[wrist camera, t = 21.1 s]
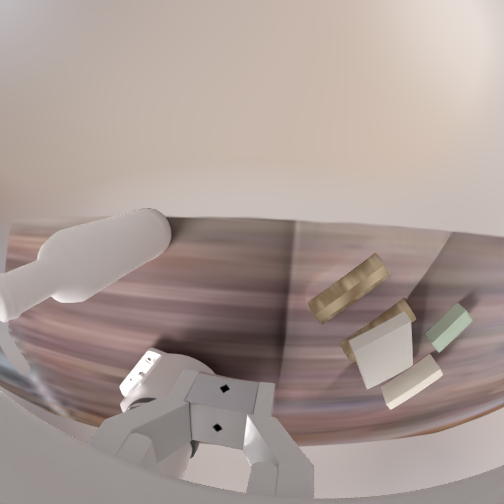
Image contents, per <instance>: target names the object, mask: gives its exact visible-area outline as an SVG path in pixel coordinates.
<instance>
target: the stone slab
mask: <svg viewBox="0 0 504 504" xmlns="http://www.w3.org/2000/svg"><path fill="white" fill-rule="evenodd" d="M349 343H350V346H351V348H352V351H353V354H354V356H355V359H356V362H357V364H358V367H359V370H360V373H361V375H362V378H363V381H364V383H365V385H366V388H367V389H369V388H372V387H374V386H376V385H378V384H380V383H382V382H384V381H385V380H387V379H389V378H391V377H393V376H395V375H397V374H399V373H401V372H402V371H404V370H406V369H408V368H410V367H411V366H413V350H412V329H411V320H410V319H409V317H408V316H407V314H406V313H405V311H404V312H402V313H400V314H398V315H397V316H395V317H393V318H391V319H389V320H388V321H386V322H384V323H382V324H380V325H378V326H376V327H375V328H373V329H371V330H369V331H367V332H365V333H363V334H361V335H359V336H357V337H355V338H353V339H351V340H349Z"/></svg>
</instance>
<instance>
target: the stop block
mask: <svg viewBox="0 0 504 504" xmlns="http://www.w3.org/2000/svg"><path fill="white" fill-rule="evenodd" d="M441 376H443V374H442V372H441V370H440V368H439V366H438V365H437V363H436V362H435V360H434V359H433V357H432V356H431V354H429V355H427V356H426V357H425V358H423V359H422V360H420V361H419V362H418V363H416V364H415V365H413V366H412V367H410V368H409V369H407V370H406V371H404V372H403V373H401V374H400V375H398V376H397V377H395V378H394V379H392V380H391V381H389V382H388V383H386V384H384V385H383V386H381V387H380V388H381V390H382V393H383V396H384V399H385V402H386V405H387V406H388V407H389V408H390V410H391V409H393V408H394V407H396V406H398V405H399V404H401V403H403V402H404V401H406V400H407V399H409V398H411V397H412V396H414V395H415V394H417V393H418V392H420V391H421V390H423V389H424V388H426V387H427V386H429V385H430V384H432V383H433V382H434V381H436V380H437V379H439V378H440V377H441Z"/></svg>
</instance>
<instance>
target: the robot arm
mask: <svg viewBox="0 0 504 504" xmlns="http://www.w3.org/2000/svg"><path fill="white" fill-rule="evenodd" d="M150 358H151V359H150ZM120 390H121V392H122V394H123V396H124V397H125V398H124V399H123V400H122V402H121V404H120V405H121V409H122V411H123V413H121V414H118V415H116V416H113V417H111V418H108V419H105V420H104V422H103V423H102V424H101V426H100V427H99V428H98V430H97V431H96V432H95V433H94V435H93V436H92V437H91V439H90V440H89V441H88V443H87V444H86V443H84V442H82V441H79V440H78V439H76V438H74V437H72V436H70V435H68V434H66V433H64V432H63V431H61V430H59V429H57V428H55V427H54V426H52V425H50V424H49V423H47V422H45V421H44V420H42V419H40V418H39V417H37V416H36V415H34V414H32V413H31V412H29V411H28V410H26V409H25V408H23V407H22V406H20V405H19V404H17V403H16V402H15V401H13V400H12V399H10V398H9V397H7V396H6V395H5V394H4V393H2V392H1V391H0V504H504V465H503V466H501V467H498V468H495V469H493V470H490V471H487V472H484V473H481V474H479V475H476V476H472V477H469V478H466V479H462V480H459V481H455V482H452V483H448V484H444V485H440V486H435V487H431V488H427V489H421V490H416V491H410V492H404V493H398V494H390V495H382V496H372V497H360V498H341V499H340V498H339V499H314V465H313V464H312V463H311V462H310V460H309V459H308V458H307V457H306V455H305V454H304V453H303V452H302V451H301V449H300V448H299V447H298V445H297V444H296V443H295V442H294V440H293V439H292V438H291V437H290V435H289V434H288V433H287V431H286V430H285V429H284V428H283V426H282V425H281V424H280V422H279V421H278V420H277V418H275V417H271V416H272V408H273V400H274V392H275V383H267V382H256V381H249V380H242V379H236V378H230V377H225V376H220V375H216V374H215V373H214V372H213V371H212V370H211V369H210V368H209V367H208V366H206V365H205V364H203V363H202V362H200V361H198V360H196V359H194V358H192V357H189V356H185V355H181V354H170V353H165V352H163V351H160V350H158V349H155V348H149V349H148V350H147V351H146V353H145V354H144V355H143V356H142V358H141V359H140V360H139V361H138V363H137V364H136V365H135V367H134V368H133V369H132V370H131V372H130V373H129V374H128V375H127V377H126V378H125V379H124V380H123V382H122V383H121V385H120ZM200 441H201V442H206V443H211V444H216V445H221V446H226V447H231V448H235V449H241V450H243V453H244V455H245V457H246V459H247V461H248V463H249V465H250V466H251V473H250V477H249V482H248V487H247V491H246V493H243V492H236V491H231V490H224V489H219V488H215V487H210V486H206V485H201V484H197V483H192V482H189V481H185V480H182V478H183V476H184V473H185V470H186V468H187V465H188V462H189V460H190V459H191V458H192V457H193V456H194V454H195V452H196V451H197V449H198V447H199V444H200Z"/></svg>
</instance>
